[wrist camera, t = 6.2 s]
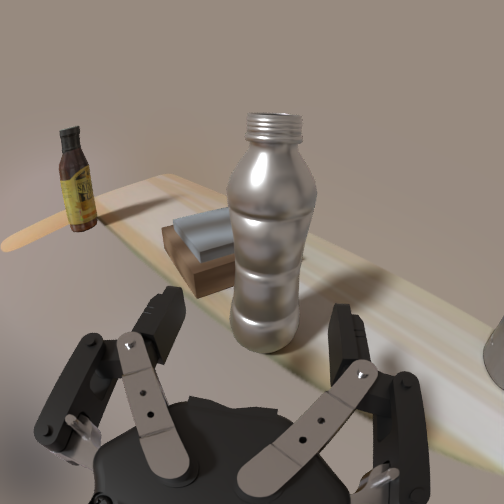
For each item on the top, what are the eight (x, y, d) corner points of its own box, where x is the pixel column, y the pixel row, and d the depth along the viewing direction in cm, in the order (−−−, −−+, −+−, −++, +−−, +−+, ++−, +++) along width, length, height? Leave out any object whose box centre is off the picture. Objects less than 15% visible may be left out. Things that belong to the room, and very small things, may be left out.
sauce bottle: (91, 233, 45) (73, 127, 35) (66, 234, 45) (46, 134, 34) (104, 218, 51) (90, 122, 40) (79, 220, 50) (64, 128, 40)
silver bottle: (219, 351, 25) (204, 115, 14) (244, 306, 30) (246, 110, 20) (286, 370, 23) (318, 121, 13) (302, 320, 29) (328, 117, 18)
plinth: (287, 266, 37) (290, 233, 35) (196, 298, 31) (192, 262, 29) (239, 228, 47) (239, 200, 44) (164, 248, 41) (160, 218, 38)
